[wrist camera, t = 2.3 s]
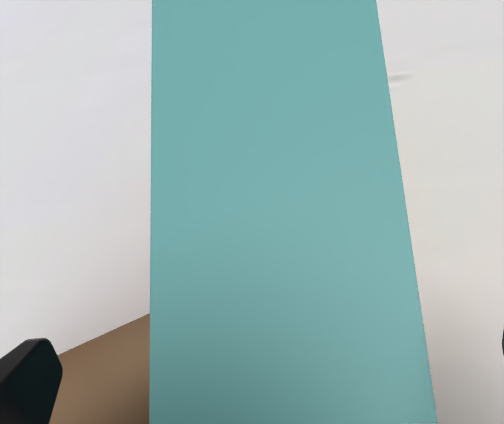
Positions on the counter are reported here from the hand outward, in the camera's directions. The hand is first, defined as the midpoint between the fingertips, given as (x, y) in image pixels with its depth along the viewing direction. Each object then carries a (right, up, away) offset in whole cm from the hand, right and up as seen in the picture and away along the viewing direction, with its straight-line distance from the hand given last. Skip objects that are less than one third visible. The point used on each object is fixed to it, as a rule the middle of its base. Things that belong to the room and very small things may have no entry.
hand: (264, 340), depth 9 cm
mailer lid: (+1, +3, +7) cm, 7 cm away
